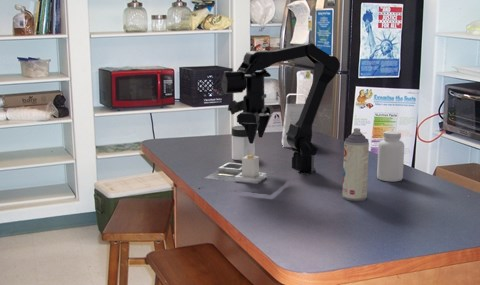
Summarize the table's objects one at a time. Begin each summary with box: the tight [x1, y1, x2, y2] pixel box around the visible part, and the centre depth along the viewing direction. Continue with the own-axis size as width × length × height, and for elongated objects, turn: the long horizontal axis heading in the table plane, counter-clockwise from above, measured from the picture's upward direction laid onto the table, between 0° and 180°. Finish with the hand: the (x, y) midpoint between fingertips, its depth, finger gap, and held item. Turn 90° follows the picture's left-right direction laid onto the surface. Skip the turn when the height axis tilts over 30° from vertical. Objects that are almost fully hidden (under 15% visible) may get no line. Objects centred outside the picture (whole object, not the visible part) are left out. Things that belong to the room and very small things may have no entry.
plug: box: [241, 155, 260, 178], centre depth 192 cm, size 4×4×8 cm
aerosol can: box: [342, 127, 370, 202], centre depth 176 cm, size 7×7×20 cm
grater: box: [281, 93, 307, 148], centre depth 246 cm, size 10×10×20 cm
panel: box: [204, 162, 277, 185], centre depth 198 cm, size 18×16×3 cm
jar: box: [231, 125, 256, 161], centre depth 220 cm, size 9×8×12 cm
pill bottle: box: [376, 130, 405, 183], centre depth 196 cm, size 8×8×15 cm
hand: (256, 140), depth 199 cm, fingers open, 9 cm apart
